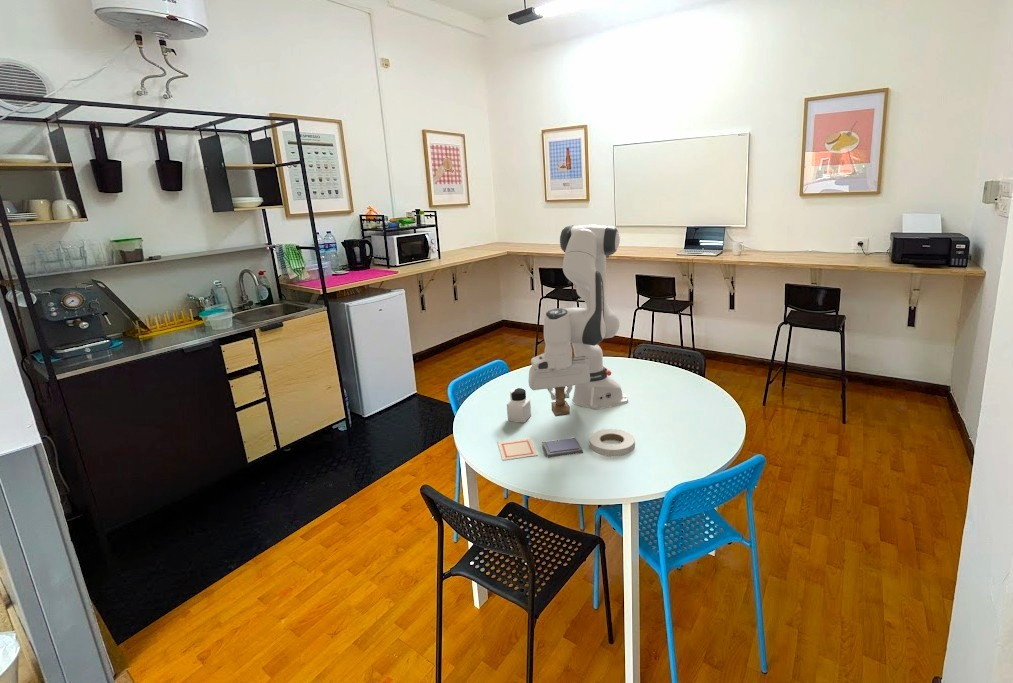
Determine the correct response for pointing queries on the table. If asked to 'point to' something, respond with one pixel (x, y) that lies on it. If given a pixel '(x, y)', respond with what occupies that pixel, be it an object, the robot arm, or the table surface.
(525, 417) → the medicine bottle
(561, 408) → the walnut stamp
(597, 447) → the roll of tape
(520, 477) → the table surface
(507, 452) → the tan card
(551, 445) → the ink pad
